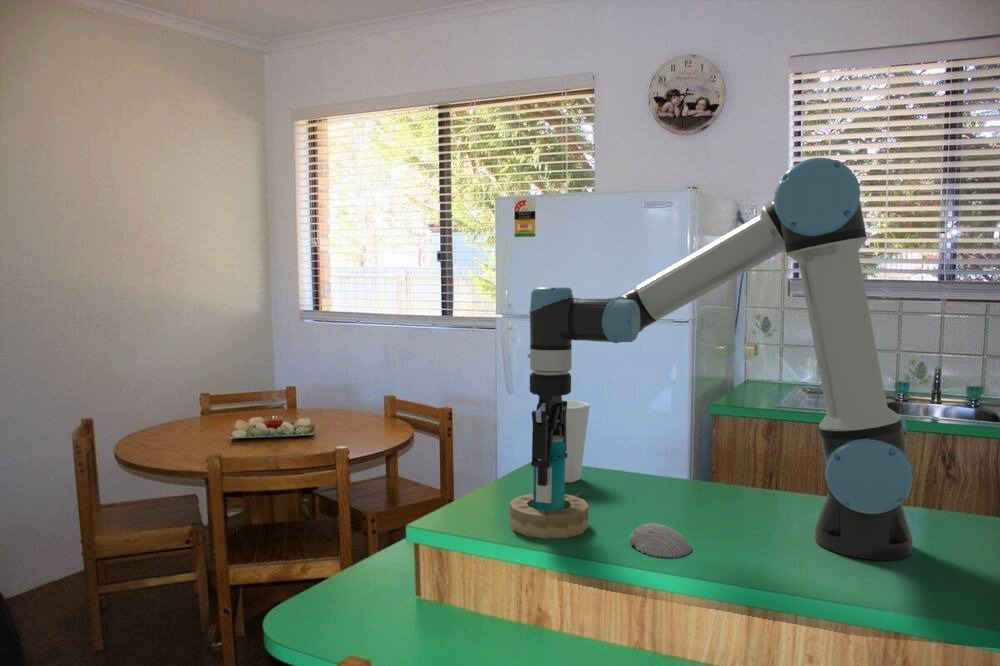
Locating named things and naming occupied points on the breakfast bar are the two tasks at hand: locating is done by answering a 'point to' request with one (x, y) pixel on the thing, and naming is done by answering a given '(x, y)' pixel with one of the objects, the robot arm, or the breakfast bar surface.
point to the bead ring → (549, 518)
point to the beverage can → (554, 477)
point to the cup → (575, 438)
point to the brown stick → (578, 495)
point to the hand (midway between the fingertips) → (549, 497)
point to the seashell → (659, 541)
